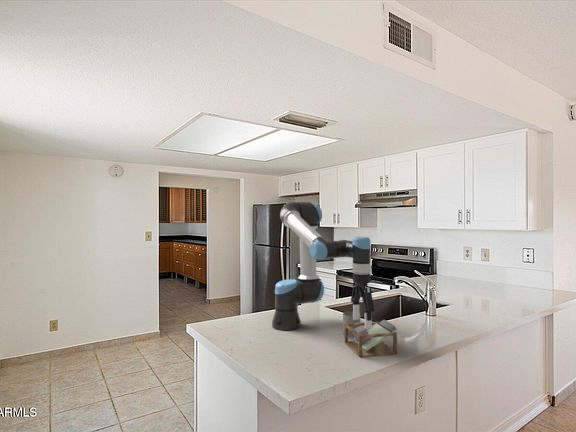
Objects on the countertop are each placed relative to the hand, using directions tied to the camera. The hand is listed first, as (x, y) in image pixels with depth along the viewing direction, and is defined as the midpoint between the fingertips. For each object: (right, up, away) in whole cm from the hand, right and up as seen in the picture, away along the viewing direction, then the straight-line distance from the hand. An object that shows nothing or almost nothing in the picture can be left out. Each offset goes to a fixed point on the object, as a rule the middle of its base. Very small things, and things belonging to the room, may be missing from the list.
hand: (362, 323), depth 151 cm
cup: (-1, -11, +18) cm, 21 cm away
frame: (+3, -11, +1) cm, 11 cm away
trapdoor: (+6, -6, +1) cm, 8 cm away
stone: (+1, -7, 0) cm, 7 cm away
